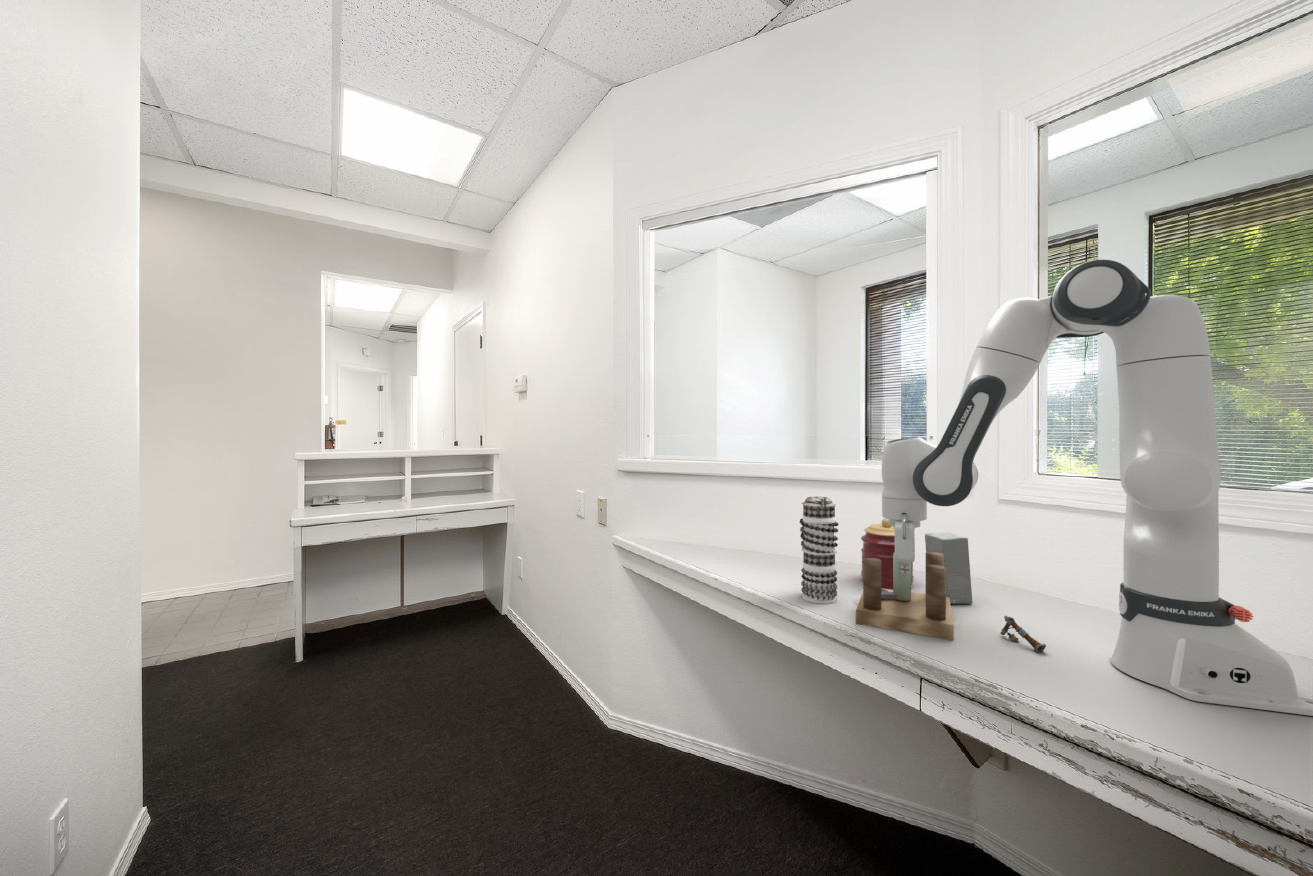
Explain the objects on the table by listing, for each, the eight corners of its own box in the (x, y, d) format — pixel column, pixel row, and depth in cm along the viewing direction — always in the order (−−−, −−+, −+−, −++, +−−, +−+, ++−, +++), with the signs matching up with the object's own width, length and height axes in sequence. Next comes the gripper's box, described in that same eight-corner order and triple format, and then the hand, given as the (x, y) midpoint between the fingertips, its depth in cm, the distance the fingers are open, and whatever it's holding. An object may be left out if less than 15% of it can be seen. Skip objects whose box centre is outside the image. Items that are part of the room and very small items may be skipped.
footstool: (949, 610, 112) (949, 552, 112) (953, 640, 96) (953, 572, 96) (864, 598, 120) (864, 544, 120) (855, 623, 105) (855, 561, 104)
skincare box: (973, 604, 115) (973, 538, 115) (942, 604, 115) (942, 538, 115) (952, 593, 124) (952, 531, 124) (923, 593, 124) (923, 531, 124)
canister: (920, 592, 125) (919, 523, 124) (865, 588, 128) (865, 521, 127) (906, 577, 137) (906, 515, 137) (857, 574, 140) (857, 513, 140)
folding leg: (907, 595, 112) (906, 552, 112) (913, 600, 108) (913, 556, 108) (866, 594, 113) (866, 551, 113) (871, 599, 109) (871, 555, 109)
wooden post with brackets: (1001, 629, 99) (1009, 612, 97) (1037, 661, 92) (1047, 644, 90) (994, 630, 99) (1002, 613, 97) (1029, 662, 91) (1039, 645, 90)
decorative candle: (825, 607, 114) (825, 501, 114) (792, 597, 122) (792, 497, 121) (846, 598, 120) (846, 498, 120) (813, 589, 127) (813, 494, 127)
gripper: (922, 518, 97) (922, 588, 97) (918, 504, 115) (919, 563, 115) (887, 516, 99) (887, 584, 99) (889, 503, 118) (890, 560, 118)
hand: (904, 572), depth 107 cm, fingers closed
